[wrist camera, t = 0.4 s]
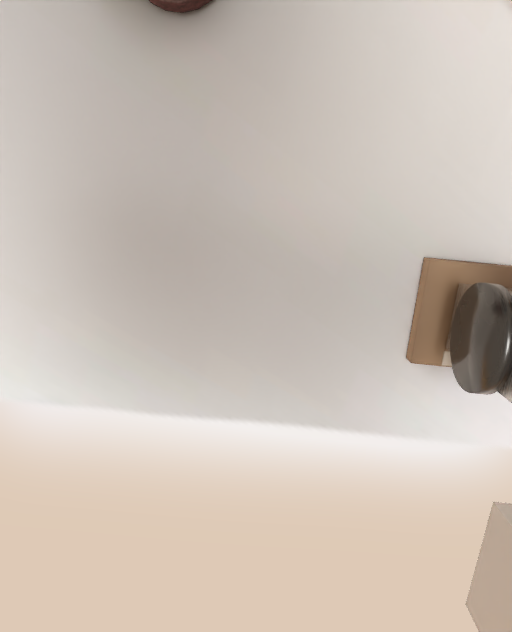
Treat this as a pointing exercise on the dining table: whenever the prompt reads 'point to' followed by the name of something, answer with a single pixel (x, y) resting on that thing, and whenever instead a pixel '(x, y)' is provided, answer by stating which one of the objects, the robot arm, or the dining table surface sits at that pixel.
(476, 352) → the brushed steel block
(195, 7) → the can
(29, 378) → the dining table surface
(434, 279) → the gauge body
